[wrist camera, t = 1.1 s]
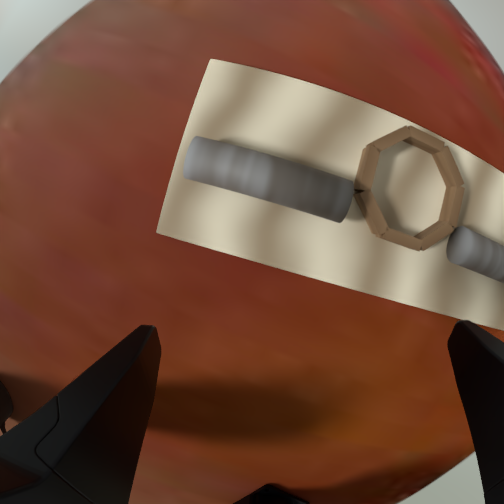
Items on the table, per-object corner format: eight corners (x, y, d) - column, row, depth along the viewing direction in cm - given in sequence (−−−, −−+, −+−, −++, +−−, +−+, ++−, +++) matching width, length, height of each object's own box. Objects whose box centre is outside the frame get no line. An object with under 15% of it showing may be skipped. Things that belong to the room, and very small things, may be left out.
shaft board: (536, 201, 21) (561, 202, 17) (502, 328, 23) (525, 341, 19) (212, 64, 20) (204, 40, 17) (160, 231, 22) (141, 236, 18)
